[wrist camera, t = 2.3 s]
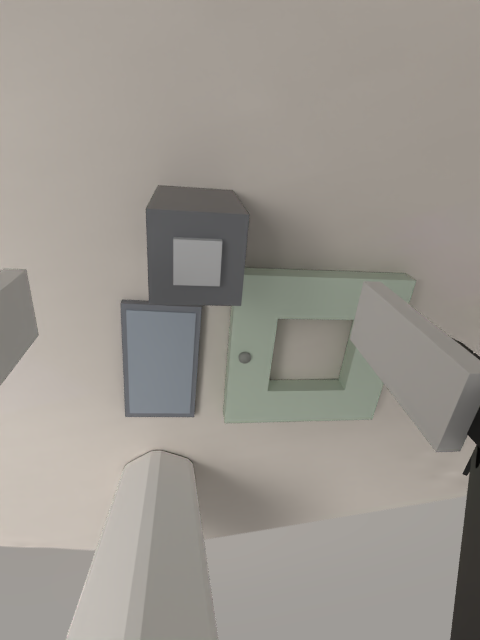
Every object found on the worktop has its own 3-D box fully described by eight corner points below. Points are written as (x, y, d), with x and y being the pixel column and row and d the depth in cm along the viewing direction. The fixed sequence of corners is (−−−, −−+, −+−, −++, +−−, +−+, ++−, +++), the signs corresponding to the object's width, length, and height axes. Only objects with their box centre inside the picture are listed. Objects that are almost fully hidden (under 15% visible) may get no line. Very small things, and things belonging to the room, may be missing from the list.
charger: (158, 185, 25) (144, 210, 17) (232, 190, 25) (250, 216, 18) (159, 257, 27) (148, 307, 19) (227, 260, 28) (242, 309, 20)
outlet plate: (234, 267, 28) (236, 275, 26) (405, 273, 30) (417, 281, 28) (223, 411, 34) (224, 424, 33) (364, 408, 36) (373, 421, 35)
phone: (123, 296, 28) (120, 303, 27) (201, 300, 29) (201, 307, 28) (127, 407, 33) (125, 417, 32) (194, 408, 34) (194, 417, 33)
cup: (211, 506, 40) (225, 733, 25) (115, 517, 39) (70, 760, 24) (208, 430, 35) (223, 657, 20) (97, 439, 34) (26, 688, 19)
